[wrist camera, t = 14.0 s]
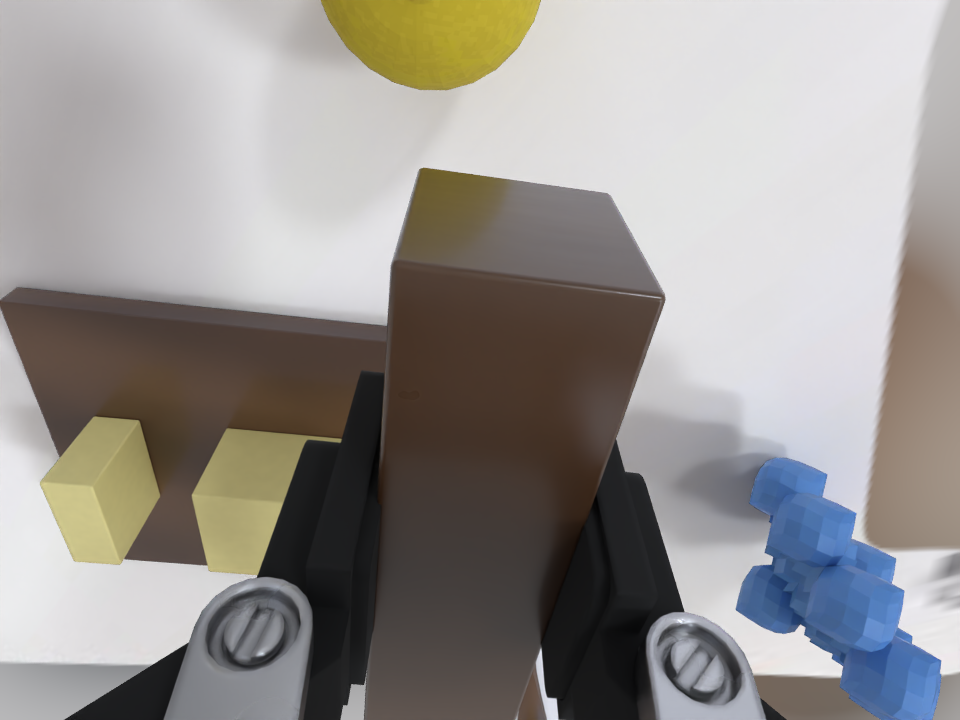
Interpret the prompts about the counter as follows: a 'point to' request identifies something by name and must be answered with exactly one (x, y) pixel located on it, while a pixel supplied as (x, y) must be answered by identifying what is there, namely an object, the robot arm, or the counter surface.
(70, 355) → the board
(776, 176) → the counter surface
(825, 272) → the counter surface
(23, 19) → the counter surface
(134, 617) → the counter surface
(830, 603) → the grapes
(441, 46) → the lemon
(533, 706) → the beer glass
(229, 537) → the butter block
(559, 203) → the knife
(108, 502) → the butter slice
